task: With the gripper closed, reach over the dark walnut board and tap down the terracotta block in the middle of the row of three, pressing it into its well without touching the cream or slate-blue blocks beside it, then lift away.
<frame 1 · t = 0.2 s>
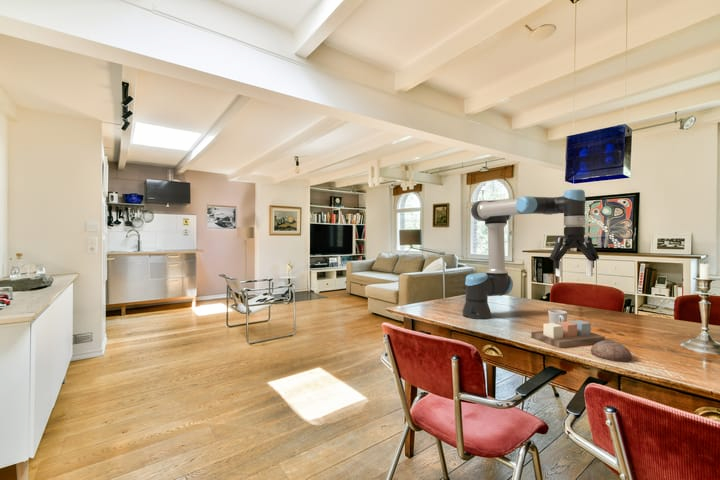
hand: (574, 276, 136), 27 cm above the table, fingers open, 13 cm apart
decorative stone: (610, 357, 118), on the table
block terracotta: (567, 329, 137), point 5 cm above the table, slide at 0.0 cm
walnut board: (567, 339, 137), on the table
block cream: (553, 330, 135), point 5 cm above the table, slide at 0.0 cm
cup: (558, 329, 153), on the table
block slate: (580, 327, 139), point 5 cm above the table, slide at 0.0 cm
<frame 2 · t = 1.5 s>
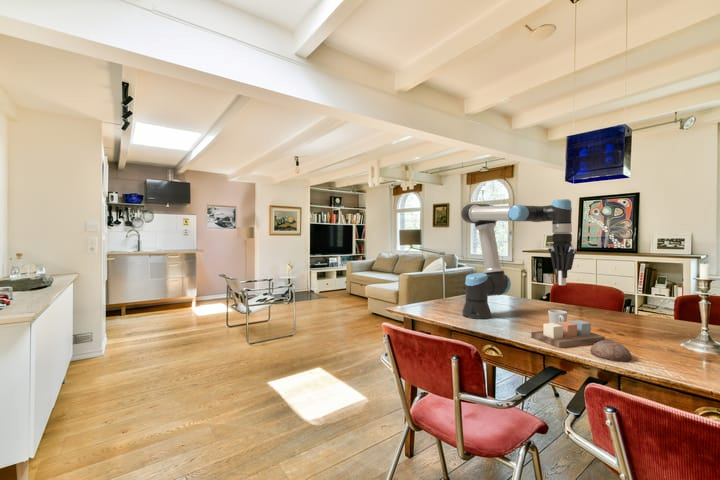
hand: (562, 284, 146), 22 cm above the table, fingers closed
nothing on the table moved.
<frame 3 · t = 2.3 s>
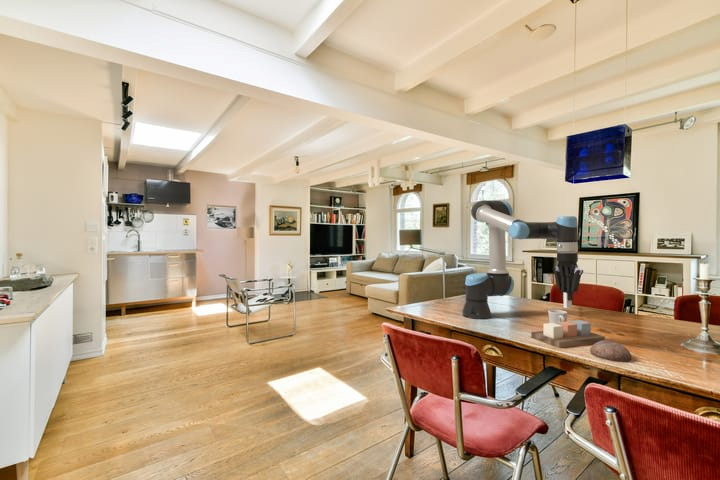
hand: (567, 307, 136), 14 cm above the table, fingers closed
nothing on the table moved.
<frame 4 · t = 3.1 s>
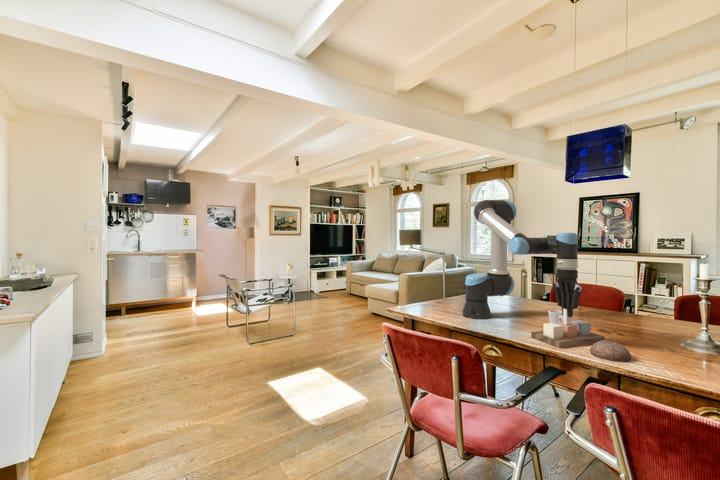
hand: (567, 324, 137), 7 cm above the table, fingers closed
block terracotta: (567, 330, 137), point 4 cm above the table, slide at -0.5 cm, touching gripper
everything else where it was.
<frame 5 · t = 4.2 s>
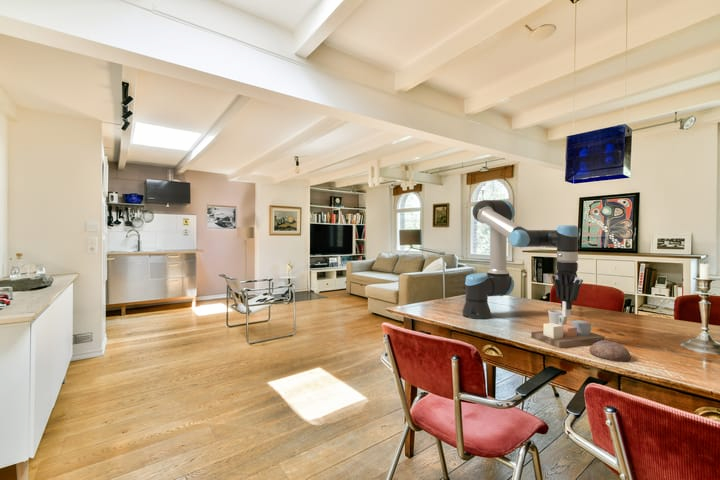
hand: (566, 316, 137), 10 cm above the table, fingers closed
block terracotta: (567, 332, 137), point 3 cm above the table, slide at -1.3 cm
everything else where it was.
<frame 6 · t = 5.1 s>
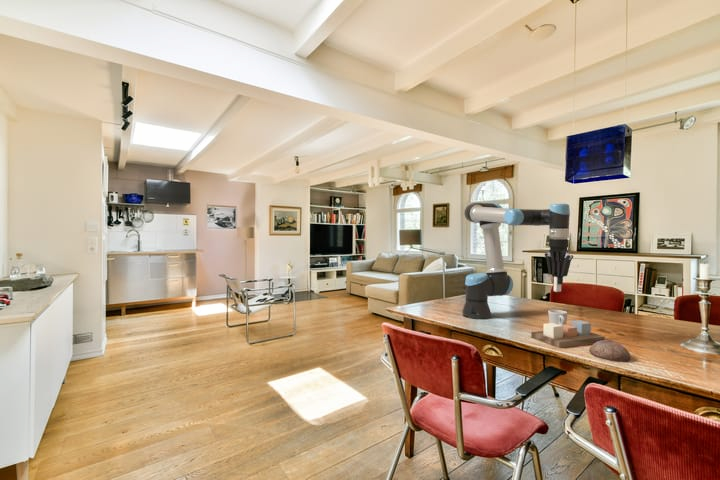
hand: (557, 291, 143), 20 cm above the table, fingers closed
nothing on the table moved.
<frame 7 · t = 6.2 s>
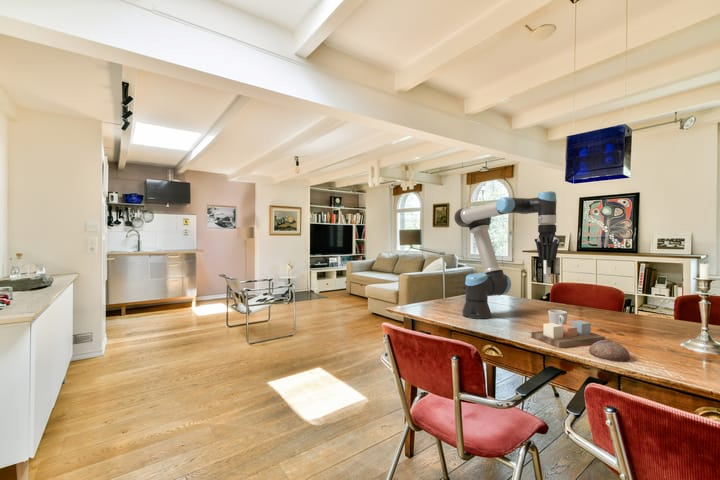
hand: (547, 273, 152), 26 cm above the table, fingers closed
nothing on the table moved.
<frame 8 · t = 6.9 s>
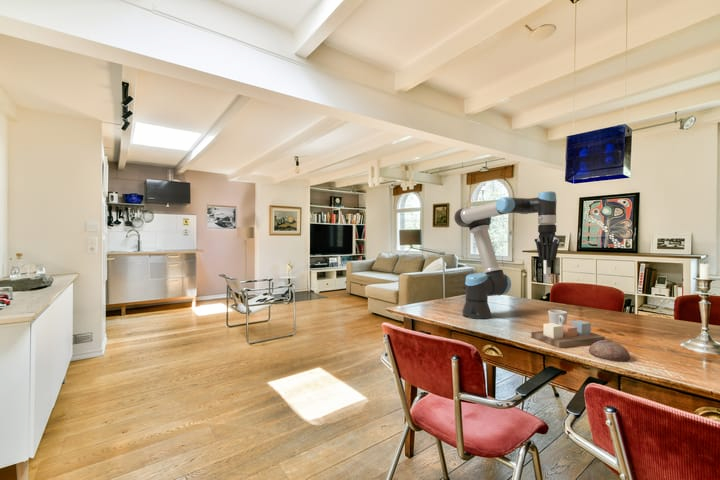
hand: (547, 273, 152), 26 cm above the table, fingers closed
nothing on the table moved.
at the end: block terracotta slide at -1.3 cm; block cream slide at 0.0 cm; block slate slide at 0.0 cm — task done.
